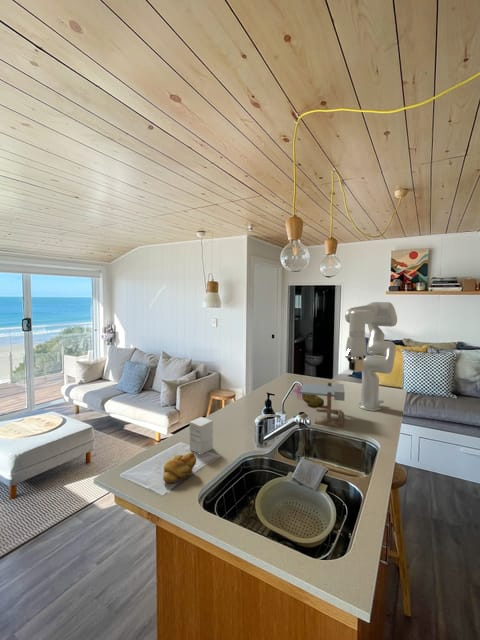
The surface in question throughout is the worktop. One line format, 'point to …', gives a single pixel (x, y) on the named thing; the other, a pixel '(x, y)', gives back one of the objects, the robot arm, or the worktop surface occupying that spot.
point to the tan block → (358, 365)
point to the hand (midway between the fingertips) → (355, 368)
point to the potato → (313, 400)
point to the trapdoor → (324, 390)
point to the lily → (298, 391)
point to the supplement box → (201, 435)
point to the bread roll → (179, 467)
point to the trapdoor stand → (329, 411)
